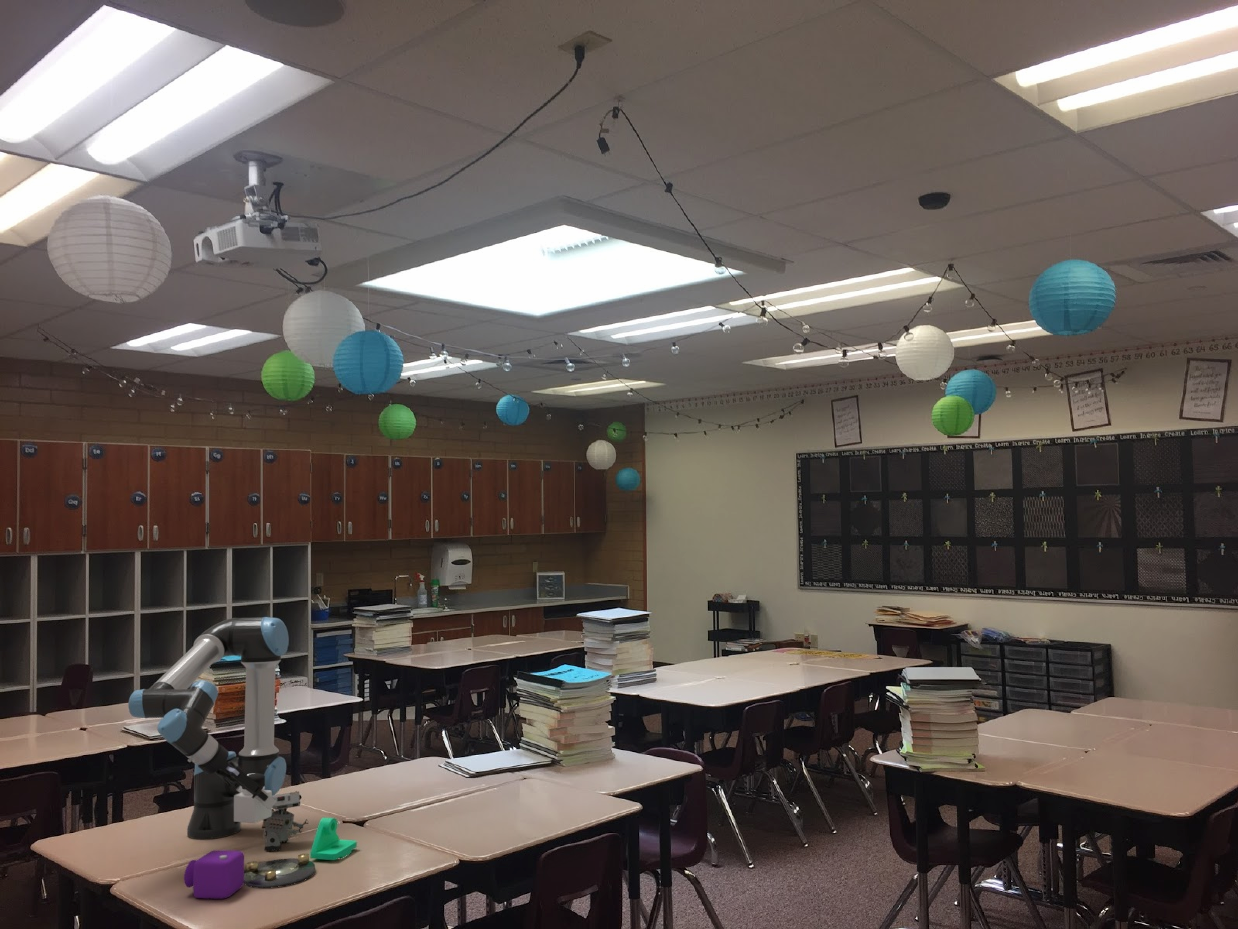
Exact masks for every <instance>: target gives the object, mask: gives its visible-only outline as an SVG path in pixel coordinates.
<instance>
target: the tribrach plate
mask: <svg viewBox="0 0 1238 929" xmlns="http://www.w3.org/2000/svg"><path fill="white" fill-rule="evenodd" d="M315 872H316V865H315V863H314V862H313V861H312V860H310V854H309V853H300V854H299V855H297V858H278V859H273V860H267V861H264V862H260V863H259V861H258V860H257V861H256V860H251V861H248V862H246V869H244V882H243V885H245V884H246V885H245V886H247V887H250V886H252V887H251V888H254V887H258V888H257V889H272V888H271V887H277V888H279V887H278V886H284V887H287V886H286V885H289V886H292V885H291V884H293V885H295V884H294V883H297V884H298V883H302V882H305V881H306V880H305V879H307V880H308V878H309V877H310V878H312V877H313V876H314V875H315ZM313 874H314V875H313ZM312 875H313V876H312ZM311 876H312V877H311ZM310 878H309V879H310ZM304 880H305V881H304Z"/></svg>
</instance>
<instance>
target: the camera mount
mask: <svg viewBox="0 0 1238 929" xmlns="http://www.w3.org/2000/svg"><path fill="white" fill-rule="evenodd" d="M337 829H338V821H337V818H335V817H322V818H321V819H320V820H319V823H318V826H317V829H316V833H315V836H314V839H313V843H312V846H311V850H310V854H309V859H315V860H326V861H327V860H329V861H334V860H339V859H338V858H343V857H345V856H346V855H348V856H350V855H351V854H352V851H353V850H354V849H356V848H357V847H358V846H357V845H358V842H357V840H351V839H340V838H339V835H338V833H337ZM350 853H351V854H350ZM349 854H350V855H349ZM345 858H346V857H345ZM343 859H344V858H343Z"/></svg>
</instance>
